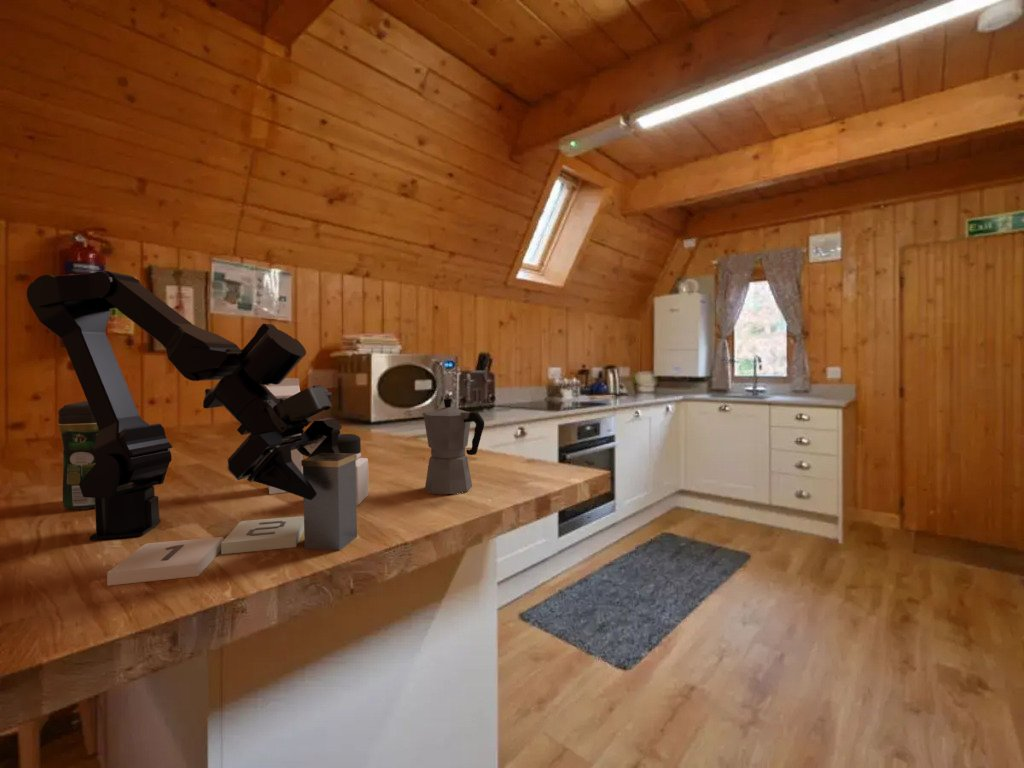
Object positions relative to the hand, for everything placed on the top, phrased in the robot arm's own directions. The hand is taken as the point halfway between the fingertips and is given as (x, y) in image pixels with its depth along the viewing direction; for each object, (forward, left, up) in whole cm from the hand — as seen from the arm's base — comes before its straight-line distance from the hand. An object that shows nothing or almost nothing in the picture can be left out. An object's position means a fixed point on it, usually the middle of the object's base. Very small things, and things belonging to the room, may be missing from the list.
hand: (332, 488), depth 66 cm
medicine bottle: (0, +21, -8) cm, 23 cm away
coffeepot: (+20, +23, -8) cm, 31 cm away
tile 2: (-9, +4, -8) cm, 13 cm away
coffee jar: (-43, +32, -8) cm, 54 cm away
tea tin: (0, 0, -8) cm, 8 cm away
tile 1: (-19, -2, -8) cm, 20 cm away
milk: (-12, +33, -8) cm, 36 cm away
